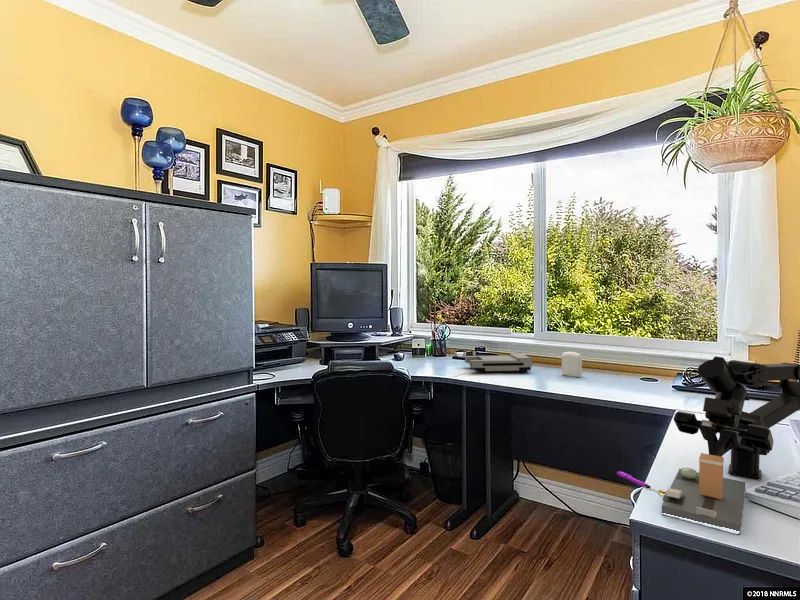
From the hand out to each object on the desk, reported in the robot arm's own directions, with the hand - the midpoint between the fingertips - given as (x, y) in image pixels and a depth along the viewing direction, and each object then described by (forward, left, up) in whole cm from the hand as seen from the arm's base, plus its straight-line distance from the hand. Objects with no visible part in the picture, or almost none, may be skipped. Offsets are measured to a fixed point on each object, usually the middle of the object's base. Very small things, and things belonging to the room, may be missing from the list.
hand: (712, 461), depth 106 cm
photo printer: (-117, -70, -7) cm, 136 cm away
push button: (-1, -5, -5) cm, 7 cm away
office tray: (-109, -108, -8) cm, 153 cm away
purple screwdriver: (+5, -12, -8) cm, 15 cm away
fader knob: (+7, 0, -5) cm, 9 cm away
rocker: (+13, -6, -4) cm, 15 cm away
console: (+6, -1, -7) cm, 10 cm away
